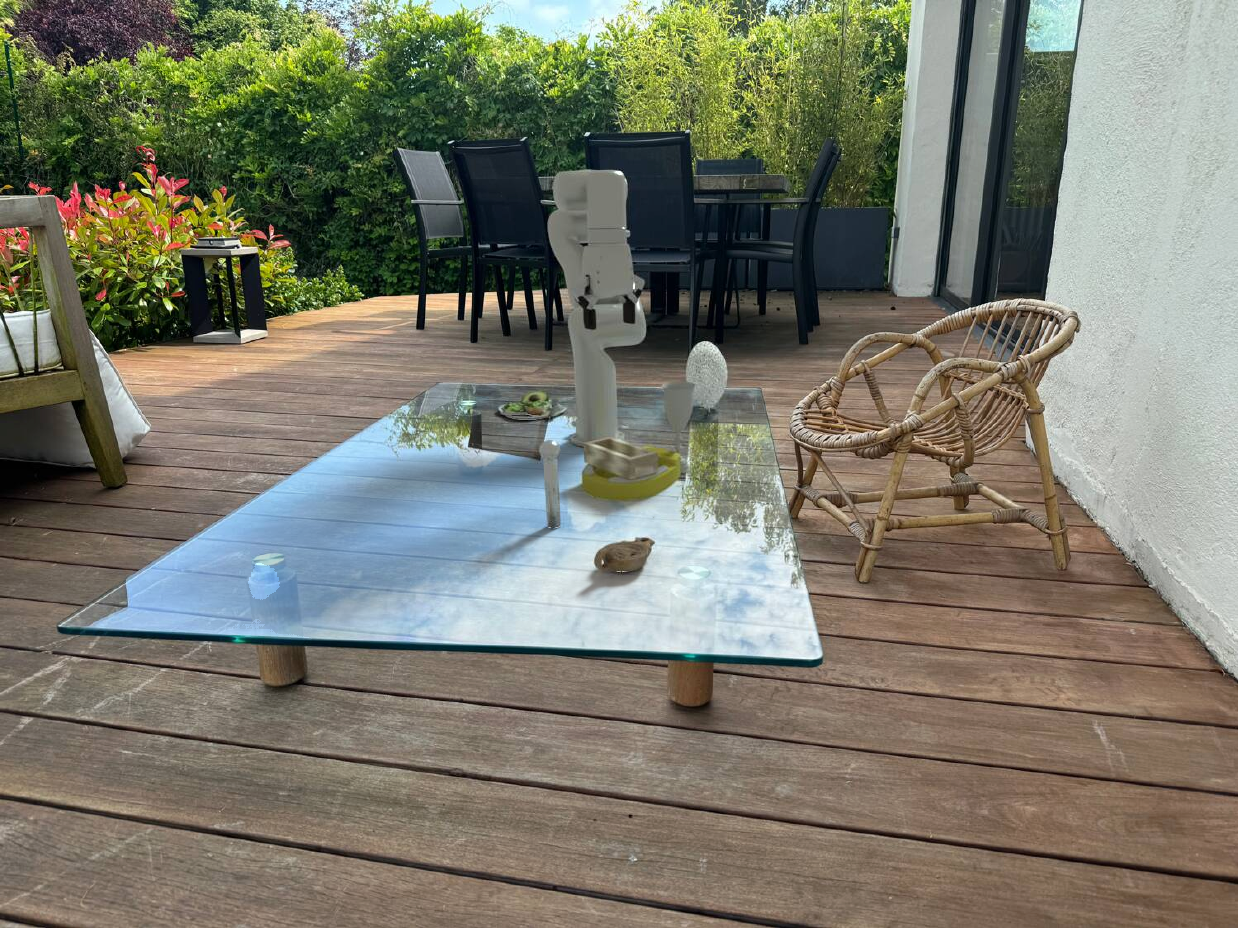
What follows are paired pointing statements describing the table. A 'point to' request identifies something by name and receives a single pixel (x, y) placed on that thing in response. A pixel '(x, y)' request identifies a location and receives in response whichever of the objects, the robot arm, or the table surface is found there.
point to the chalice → (679, 412)
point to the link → (621, 457)
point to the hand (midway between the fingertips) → (610, 326)
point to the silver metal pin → (551, 481)
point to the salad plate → (534, 406)
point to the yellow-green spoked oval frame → (624, 489)
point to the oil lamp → (624, 555)
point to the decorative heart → (706, 373)
